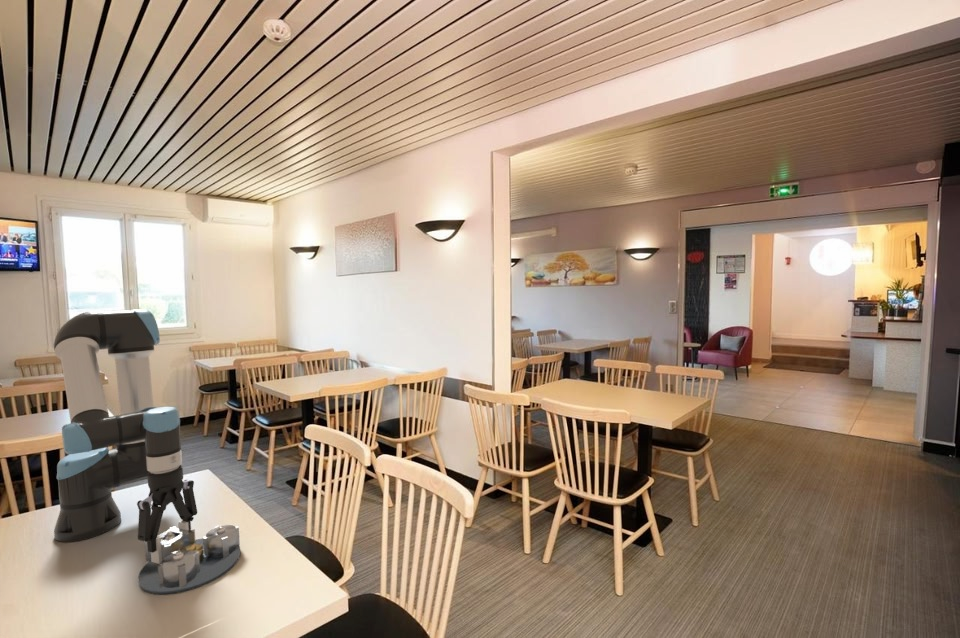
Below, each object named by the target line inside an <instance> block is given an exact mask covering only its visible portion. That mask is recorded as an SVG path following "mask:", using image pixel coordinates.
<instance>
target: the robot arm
mask: <svg viewBox="0 0 960 638" xmlns="http://www.w3.org/2000/svg"><path fill="white" fill-rule="evenodd" d="M160 342H161V340H160V332H159V327H158V323H157V320H156V318H155V316H154V314H153V313H152V312H151V311H150V310H148V309H138V308H137V309H132V308H131V309H117V310H98V311H97V310H94V311H93V310H91V311H86V312H82V313H79V314H76V315H75V316H73V317H72V318H70V319H68V320H67V321H66V322H65V323H64V324H63V325H62V326H61V327H60V329H59V330H58V331H57V333H56V334H55V338H54V343H53V350H54V355H55V356H56V358H57V359H58V360H60V363H61V369H62V375H63V381H64V387H65V395H66V401H67V407H68V413H69V418H70V419H69V420H70V423H67V424H64V425H62V427H61V437H62V446H63V450H64V453H65V454H67V455H65V456H64V457H63V458H61V459H60V460H59V461H58V463H57V465H56V472H57V473H56V480H57V482H58V483H57V484H58V498H59V509H60V510H59V513H58V517H57V520H56V523H55V525H54V530H53V535H54V539H55V541H57V542H61V543H62V542H63V543H70V542H79V541H82V540H87V539H90V538H93V537H96V536H99V535H102V534H104V533H106V532H108V531H110V530H112V529H113V528H115V527H117V526H118V525H119V524H120V523H121V521H122V516H121V514H122V513H121V511H120V509H119V506H118V505H117V504H116V501H115V500H114V498H113V495H112V494H113V493H112V489H115V488H118V487H122V486H126V485H130V484H135V483H137V482H142V481H146V480H147V485H148V488H149V494H148V497H146V498H145V499H143V500H138V501H137V502H136V505H137V509H138V527H137V528H138V531H137V540H139V541H141V542H145V541H146V542H147V546H148V551H149V552H151V562H154V563H158V564H160V563H161V562H162V554H161V539H160V537H157V536H158V535H159V529H160V527H161V522H162V519H163V514H164V511H166V509H167V506H168V505H169V504H171V503H172V506H173V507H174V509H175V510H176V512H177V514H178V516H179V518H180V519H181V520H179V521H178V522H177V524H178V527H177V528H179V529H184V530H192V526H191V525H192V524H191V522H193V520H194V516H196V515H197V514H198V508H197V504H196V502H197V501H196V498H195V492H194V485H195V481H194V480H190V479H184V469H183V468H184V467H183V466H182V464H183V454H182V453H183V452H182V442H181V418H180V415H179V413H180V412H179V410H178V408H176V407H175V406H161V407H157V406H154V400H153V399H154V398H153V387H152V376H151V375H152V374H151V363H150V356H151V354H152V353H153V352H154V351H155V346H157V345H159V344H160ZM100 350H107V355H108V356H110V357H111V358H112V359H114V361H115V373H116V374H115V375H116V382H117V395H118V406H119V407H118V408H119V415H114V416H110V414H109V409H108V405H107V400H106V396H105V389H104V385H103V381H102V376H101V372H100V367H99V362H98V357H97V354H98V353H99V351H100ZM114 446H116V447H115V448H111V449H109V448H110V447H114ZM181 492H182V494H181Z"/></svg>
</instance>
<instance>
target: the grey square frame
mask: <svg viewBox="0 0 960 638" xmlns="http://www.w3.org/2000/svg"><path fill="white" fill-rule="evenodd" d="M170 531H172V534H174V535H175V538H173V539H171V540H170V541H167V540H166V539H165V537H166V536H167V533H168V532H170ZM157 537H160V539H161V554H162V560H163V559H164V558H166V557H167V556H169V555H171V554H172V552H175V551H178V550H179V551H180V550H181V549H183V548H184V547H186V546H187V545H189V544H193V543H195V544H196V540H197V539H196V529H191V530H184V529H179V527H177V525H174V526H173V525H172V526H170V527H169V528H168V529H167V530H165V531H163V532H162V533H160V534H158V535H157ZM144 552H145V562H146V563H148V562H149V561H151V552H149V551H148V546H147V542H146V541H144Z"/></svg>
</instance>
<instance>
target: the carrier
mask: <svg viewBox="0 0 960 638" xmlns="http://www.w3.org/2000/svg"><path fill="white" fill-rule="evenodd" d="M173 538H175V535H174V534H172V531H170V532H168V533H167V536H166V537H165V539H166V540H167V541H170V540H171V539H173ZM195 540H196V544H195V543H193V544H189V545H187V546H186V547H184V548H183V549H181V550H180V551H179V550H178V551H175V552H172V554H171V555H169V556H167V557H166V558H164V559H163V560H162V562H161V563H160V564H158V563H154V562H151V561H148V562H146V564H145V565H144V566H143V567H142V569H141V570H140V571H139V573H138V586H139V588H140V589H141V590H142V591H143V592H145V593H147V594H151V595H156V596H157V595H158V596H160V595H173V594H180V593H184V592H185V593H186V592H188V591H191V590H195V589H197V588H200V587H203V586H205V585H208V584H210V583H212V582H213V581H215V580H217V579H219V578H220V577H222V576H223V575H225V574H227V573H228V572H229V571H230V570H231V569H232V568H233V567H234V566H235V565H236V564H237V563H238V561H239V560H240V557H241V546H240V544H241V542H240V528H239V525H231V524H224V525H221V524H219V525H217V526H214V528H213V529H210V530H209V531H208V532H206V534H205V536H202V538H199V539H195Z"/></svg>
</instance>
